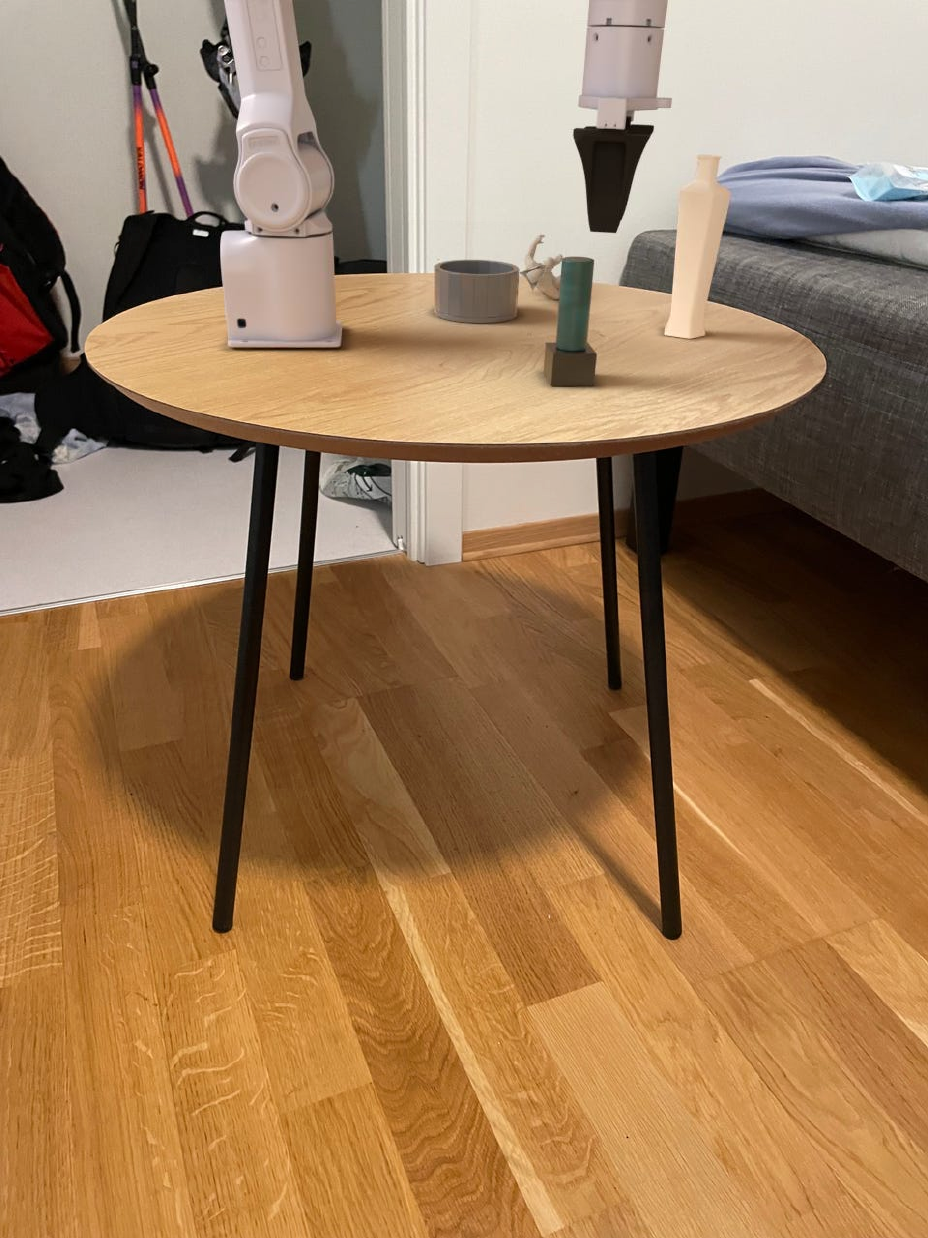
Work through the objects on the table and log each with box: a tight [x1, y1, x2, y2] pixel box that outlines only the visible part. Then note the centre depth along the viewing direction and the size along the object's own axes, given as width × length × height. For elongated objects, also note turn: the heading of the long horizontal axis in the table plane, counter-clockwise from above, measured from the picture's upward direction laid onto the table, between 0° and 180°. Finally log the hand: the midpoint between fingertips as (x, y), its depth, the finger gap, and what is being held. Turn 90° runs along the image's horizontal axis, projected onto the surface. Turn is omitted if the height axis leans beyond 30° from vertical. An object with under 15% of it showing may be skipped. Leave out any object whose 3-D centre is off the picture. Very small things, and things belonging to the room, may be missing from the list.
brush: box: [543, 256, 598, 387], centre depth 71 cm, size 3×3×9 cm
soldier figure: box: [519, 234, 564, 300], centre depth 101 cm, size 8×5×12 cm
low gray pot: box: [433, 259, 520, 324], centre depth 92 cm, size 8×8×4 cm
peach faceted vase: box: [664, 154, 732, 339], centre depth 84 cm, size 5×4×15 cm
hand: (606, 225), depth 76 cm, fingers open, 7 cm apart
